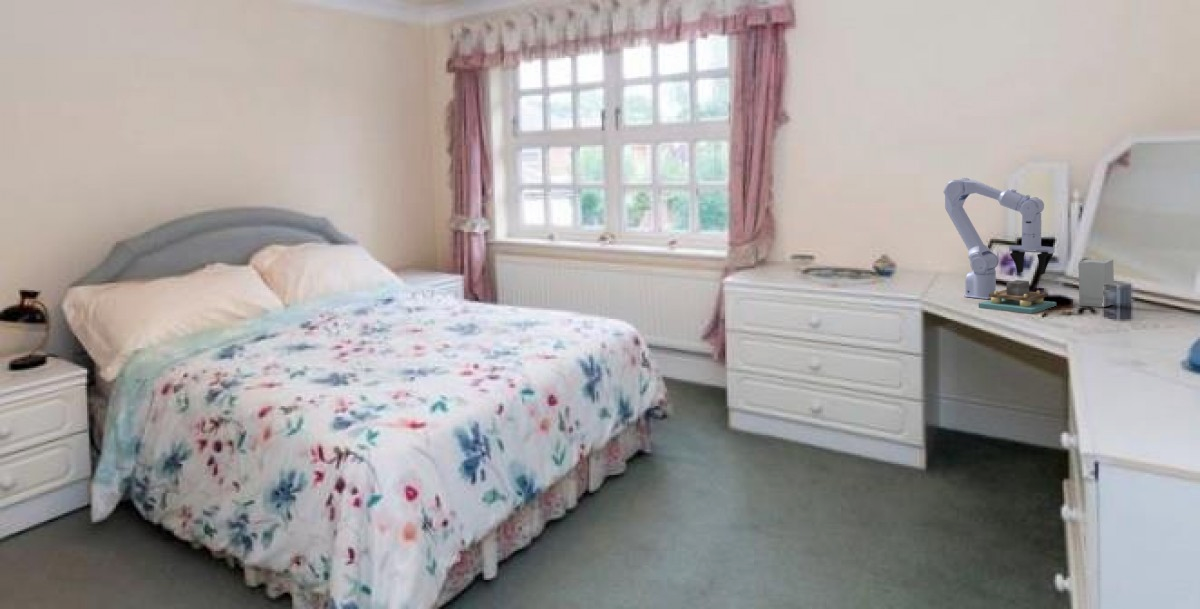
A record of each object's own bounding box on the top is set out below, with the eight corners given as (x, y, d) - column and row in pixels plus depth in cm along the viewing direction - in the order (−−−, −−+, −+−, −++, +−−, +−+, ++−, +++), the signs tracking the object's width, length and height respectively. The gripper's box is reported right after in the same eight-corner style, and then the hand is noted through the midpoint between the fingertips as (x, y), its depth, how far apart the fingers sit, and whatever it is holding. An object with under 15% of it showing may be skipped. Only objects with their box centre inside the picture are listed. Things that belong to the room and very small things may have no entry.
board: (988, 296, 251) (988, 282, 250) (1006, 292, 256) (1006, 278, 255) (1029, 301, 239) (1029, 286, 238) (1047, 296, 243) (1047, 281, 243)
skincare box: (1114, 305, 238) (1115, 259, 236) (1105, 308, 235) (1107, 262, 232) (1085, 302, 245) (1087, 258, 243) (1077, 305, 242) (1078, 260, 239)
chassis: (978, 307, 252) (978, 291, 251) (1003, 300, 259) (1003, 285, 258) (1031, 313, 236) (1031, 297, 235) (1056, 306, 243) (1056, 290, 242)
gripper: (1060, 233, 248) (1059, 273, 250) (1017, 231, 260) (1017, 270, 263) (1047, 235, 245) (1047, 276, 247) (1005, 234, 257) (1005, 272, 259)
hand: (1030, 273), depth 255 cm, fingers open, 7 cm apart
